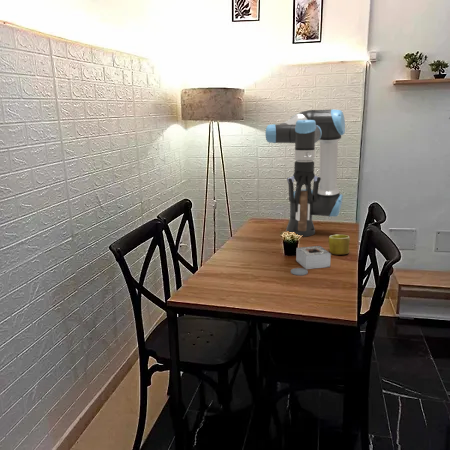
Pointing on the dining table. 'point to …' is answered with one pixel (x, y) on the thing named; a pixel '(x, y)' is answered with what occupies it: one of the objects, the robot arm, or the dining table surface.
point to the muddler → (303, 210)
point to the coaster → (299, 271)
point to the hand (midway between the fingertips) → (302, 219)
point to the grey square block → (313, 257)
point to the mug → (339, 244)
